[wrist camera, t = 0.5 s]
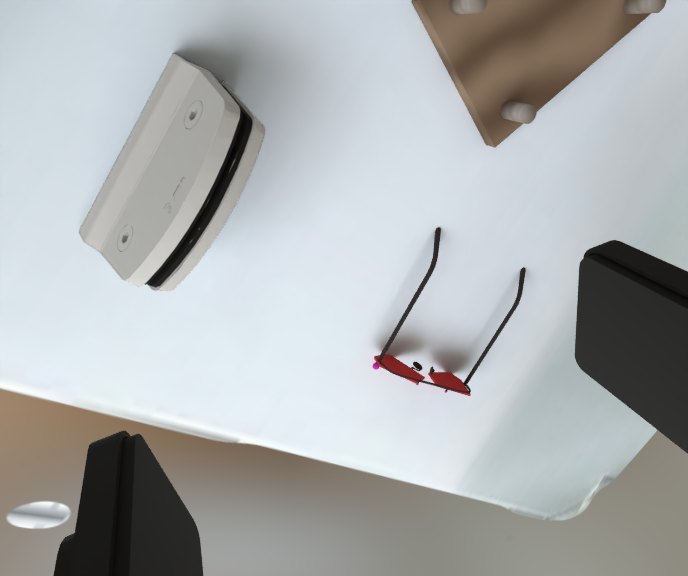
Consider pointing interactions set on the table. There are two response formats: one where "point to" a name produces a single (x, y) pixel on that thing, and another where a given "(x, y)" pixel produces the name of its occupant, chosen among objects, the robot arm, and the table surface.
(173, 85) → the white slotted device
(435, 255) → the glasses
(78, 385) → the table surface
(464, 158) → the table surface
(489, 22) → the stub plate
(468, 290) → the table surface
